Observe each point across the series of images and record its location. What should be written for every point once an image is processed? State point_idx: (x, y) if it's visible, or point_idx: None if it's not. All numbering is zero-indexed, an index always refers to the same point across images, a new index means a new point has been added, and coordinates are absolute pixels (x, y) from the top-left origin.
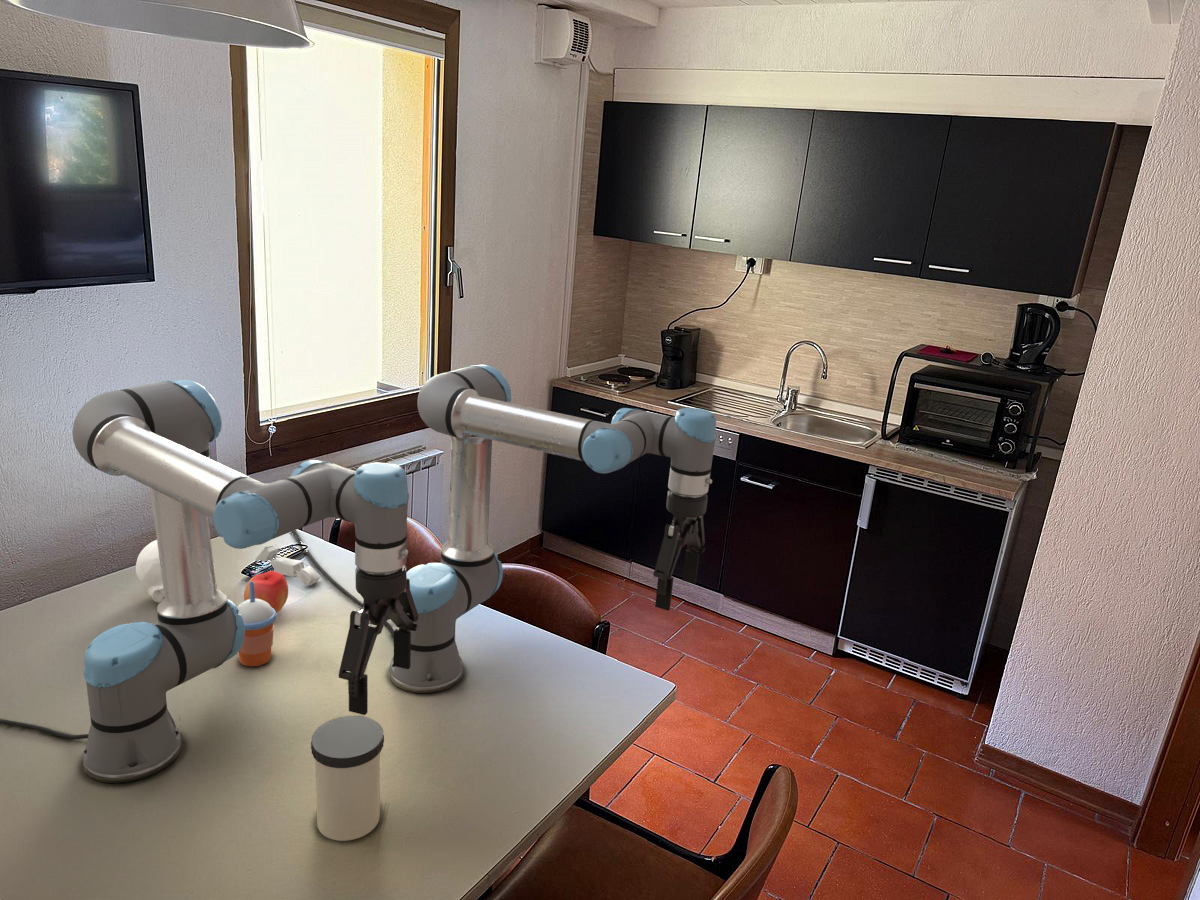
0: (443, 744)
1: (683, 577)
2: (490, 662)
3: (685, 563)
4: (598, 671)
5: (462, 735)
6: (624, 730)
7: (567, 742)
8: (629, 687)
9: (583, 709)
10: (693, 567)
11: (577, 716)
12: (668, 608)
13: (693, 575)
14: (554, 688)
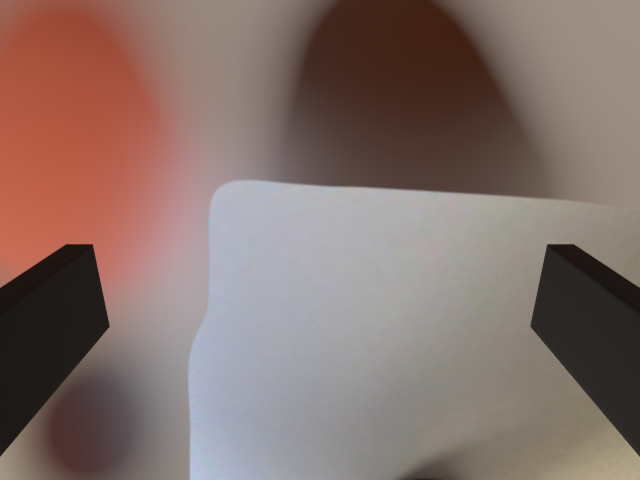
0: (579, 416)
1: (96, 333)
2: (335, 472)
3: (28, 410)
4: (241, 323)
5: (546, 407)
6: (401, 195)
7: (489, 268)
8: (254, 250)
9: (378, 290)
10: (19, 332)
11: (405, 289)
12: (584, 251)
13: (62, 287)
14: (345, 360)
